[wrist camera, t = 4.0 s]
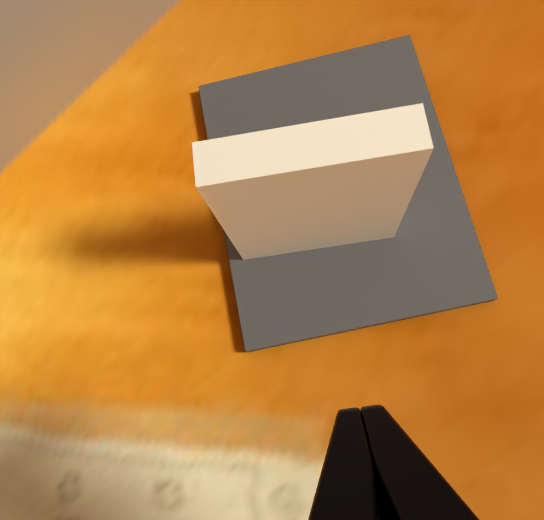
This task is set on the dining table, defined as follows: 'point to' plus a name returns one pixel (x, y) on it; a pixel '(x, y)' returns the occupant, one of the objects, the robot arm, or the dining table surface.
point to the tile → (314, 180)
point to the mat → (364, 255)
